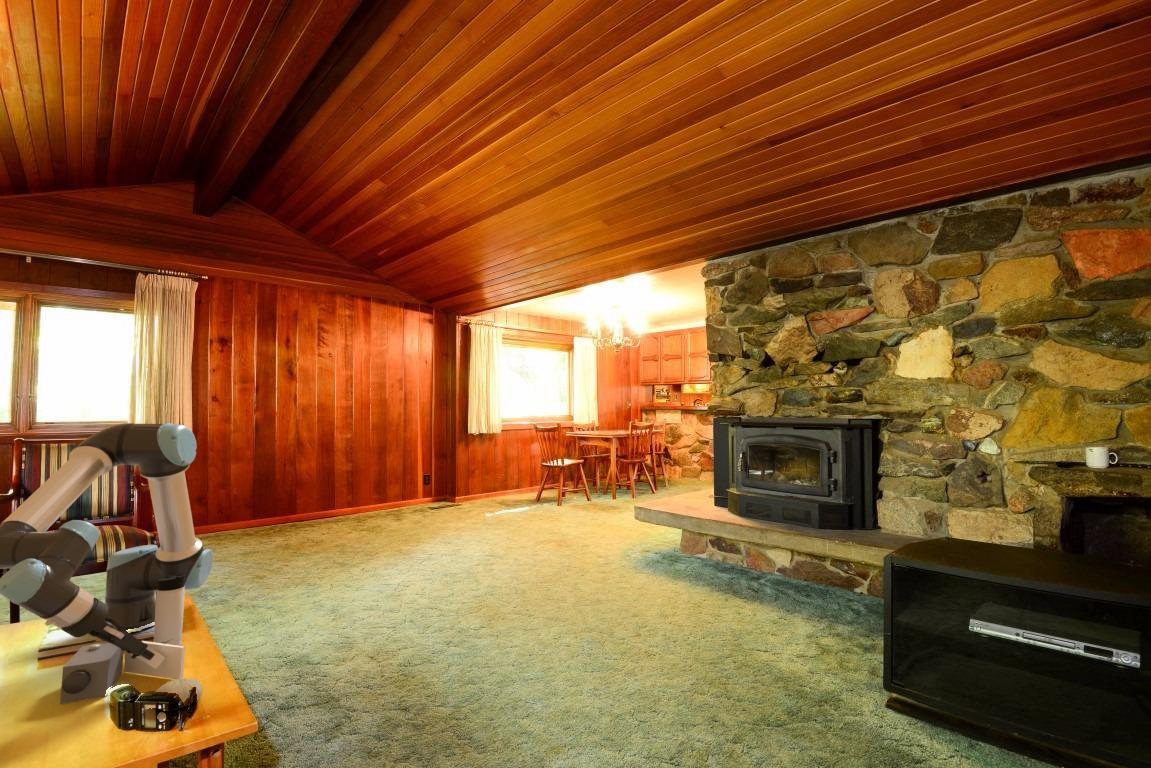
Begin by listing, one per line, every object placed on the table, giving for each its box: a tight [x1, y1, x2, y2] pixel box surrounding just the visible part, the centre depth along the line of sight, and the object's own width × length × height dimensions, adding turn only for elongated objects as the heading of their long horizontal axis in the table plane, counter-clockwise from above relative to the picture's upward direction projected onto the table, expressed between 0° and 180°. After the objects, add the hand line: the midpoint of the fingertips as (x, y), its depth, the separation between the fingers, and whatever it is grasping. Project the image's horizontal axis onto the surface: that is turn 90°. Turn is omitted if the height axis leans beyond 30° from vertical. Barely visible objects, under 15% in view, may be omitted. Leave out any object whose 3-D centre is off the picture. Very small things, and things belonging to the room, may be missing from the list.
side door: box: [123, 640, 186, 680], centre depth 134 cm, size 17×1×8 cm, turn 78°
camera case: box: [59, 642, 125, 705], centre depth 127 cm, size 14×8×9 cm, turn 27°
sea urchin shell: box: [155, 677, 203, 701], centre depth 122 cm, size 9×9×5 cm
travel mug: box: [152, 574, 186, 646], centre depth 149 cm, size 6×7×20 cm
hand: (159, 662), depth 131 cm, fingers closed
